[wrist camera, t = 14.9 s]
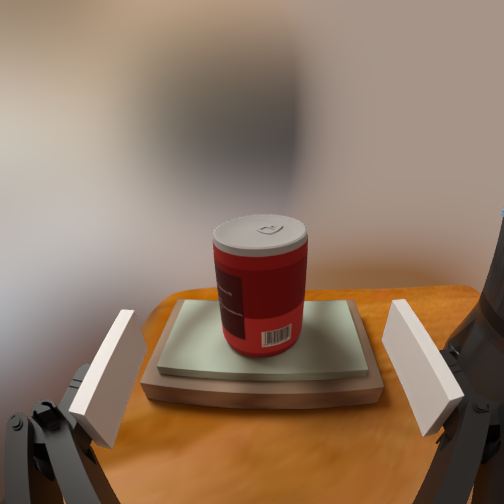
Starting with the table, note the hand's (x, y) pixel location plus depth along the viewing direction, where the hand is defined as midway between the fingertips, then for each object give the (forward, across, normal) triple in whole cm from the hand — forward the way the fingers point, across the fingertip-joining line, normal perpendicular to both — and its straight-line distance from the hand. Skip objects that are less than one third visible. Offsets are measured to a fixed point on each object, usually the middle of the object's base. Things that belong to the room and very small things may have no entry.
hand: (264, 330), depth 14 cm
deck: (+11, 0, -14) cm, 18 cm away
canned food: (+11, 0, -10) cm, 15 cm away
